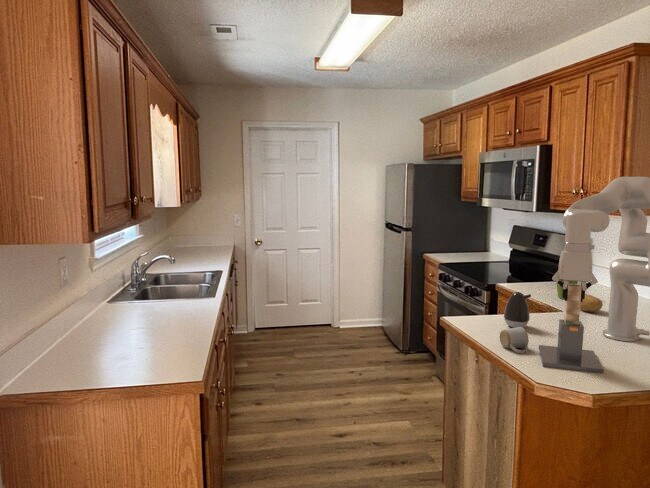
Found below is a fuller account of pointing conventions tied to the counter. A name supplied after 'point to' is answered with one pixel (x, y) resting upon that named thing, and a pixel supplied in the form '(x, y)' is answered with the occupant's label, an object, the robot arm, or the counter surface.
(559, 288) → the plant pot
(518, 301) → the pump dispenser
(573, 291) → the post
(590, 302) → the potato
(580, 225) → the robot arm
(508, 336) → the ceramic mug
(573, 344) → the stand
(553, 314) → the counter surface
